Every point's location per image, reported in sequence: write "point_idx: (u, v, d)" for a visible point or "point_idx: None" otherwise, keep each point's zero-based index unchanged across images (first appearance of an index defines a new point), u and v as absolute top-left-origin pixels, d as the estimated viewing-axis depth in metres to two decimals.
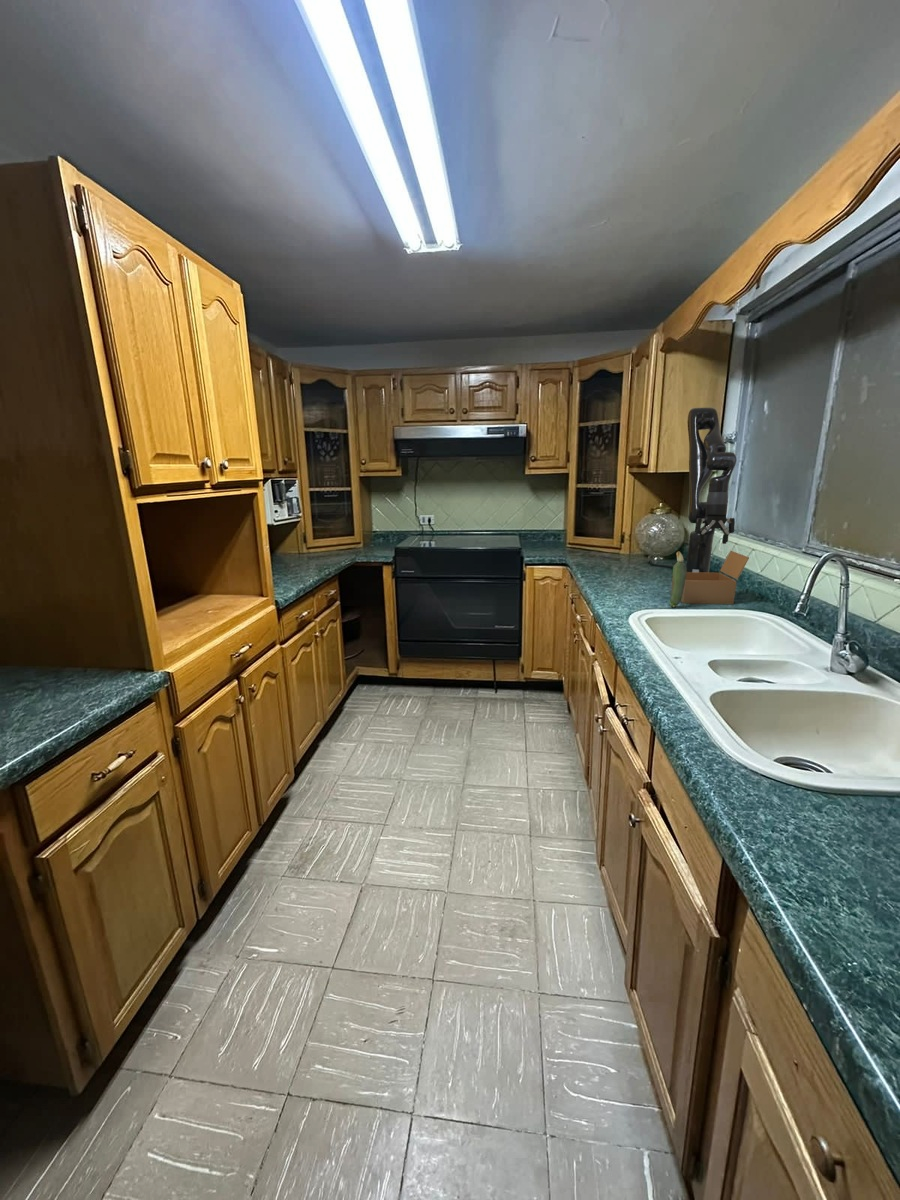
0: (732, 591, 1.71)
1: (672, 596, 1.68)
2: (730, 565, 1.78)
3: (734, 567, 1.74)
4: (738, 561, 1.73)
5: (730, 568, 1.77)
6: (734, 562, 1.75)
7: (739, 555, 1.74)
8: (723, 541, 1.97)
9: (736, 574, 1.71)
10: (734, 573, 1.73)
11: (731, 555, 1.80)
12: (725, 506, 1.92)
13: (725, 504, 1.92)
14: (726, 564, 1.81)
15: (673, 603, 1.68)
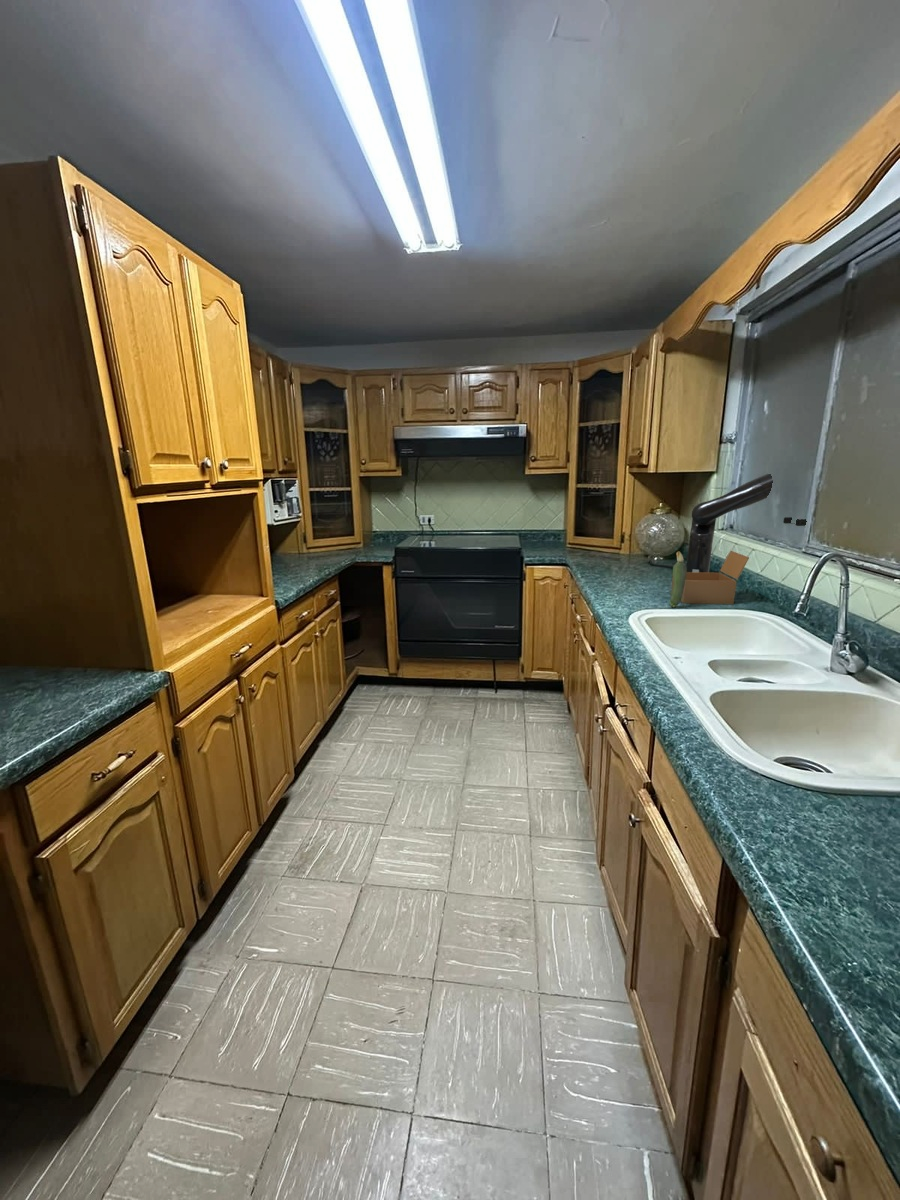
0: (732, 591, 1.71)
1: (672, 596, 1.68)
2: (730, 565, 1.78)
3: (734, 567, 1.74)
4: (738, 561, 1.73)
5: (730, 568, 1.77)
6: (734, 562, 1.75)
7: (739, 555, 1.74)
8: (787, 520, 1.76)
9: (736, 574, 1.71)
10: (734, 573, 1.73)
11: (731, 555, 1.80)
12: None
13: None
14: (726, 564, 1.81)
15: (673, 603, 1.68)
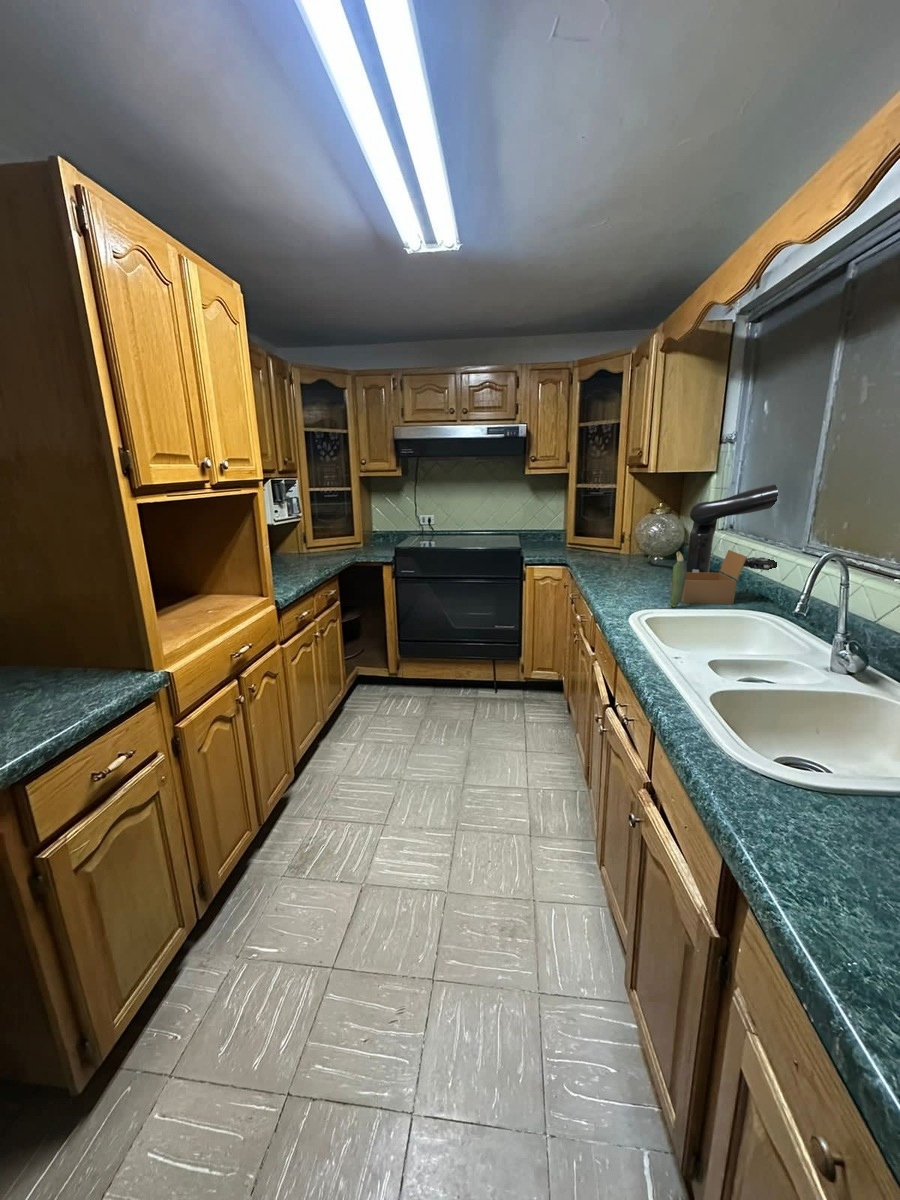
0: (732, 591, 1.71)
1: (672, 596, 1.68)
2: (729, 565, 1.78)
3: (733, 567, 1.74)
4: (736, 561, 1.73)
5: (729, 568, 1.77)
6: (733, 562, 1.76)
7: (737, 554, 1.74)
8: None
9: (736, 574, 1.71)
10: (734, 573, 1.73)
11: (729, 555, 1.80)
12: None
13: None
14: (725, 563, 1.81)
15: (673, 603, 1.68)
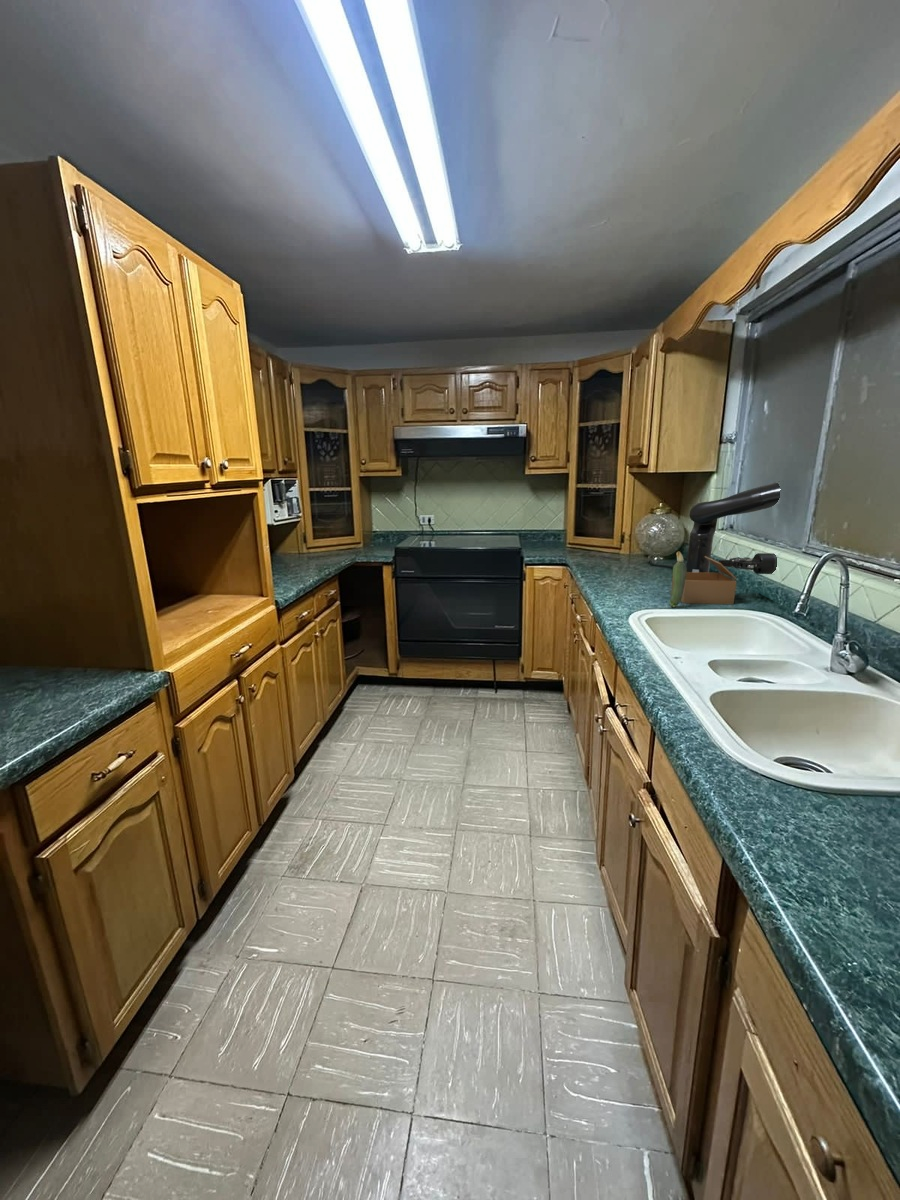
0: (732, 591, 1.71)
1: (672, 596, 1.68)
2: (719, 568, 1.78)
3: (723, 570, 1.75)
4: (719, 566, 1.74)
5: (722, 570, 1.77)
6: (718, 566, 1.77)
7: (713, 561, 1.76)
8: None
9: (732, 576, 1.71)
10: (729, 575, 1.73)
11: (709, 560, 1.81)
12: None
13: None
14: (716, 567, 1.81)
15: (673, 603, 1.68)
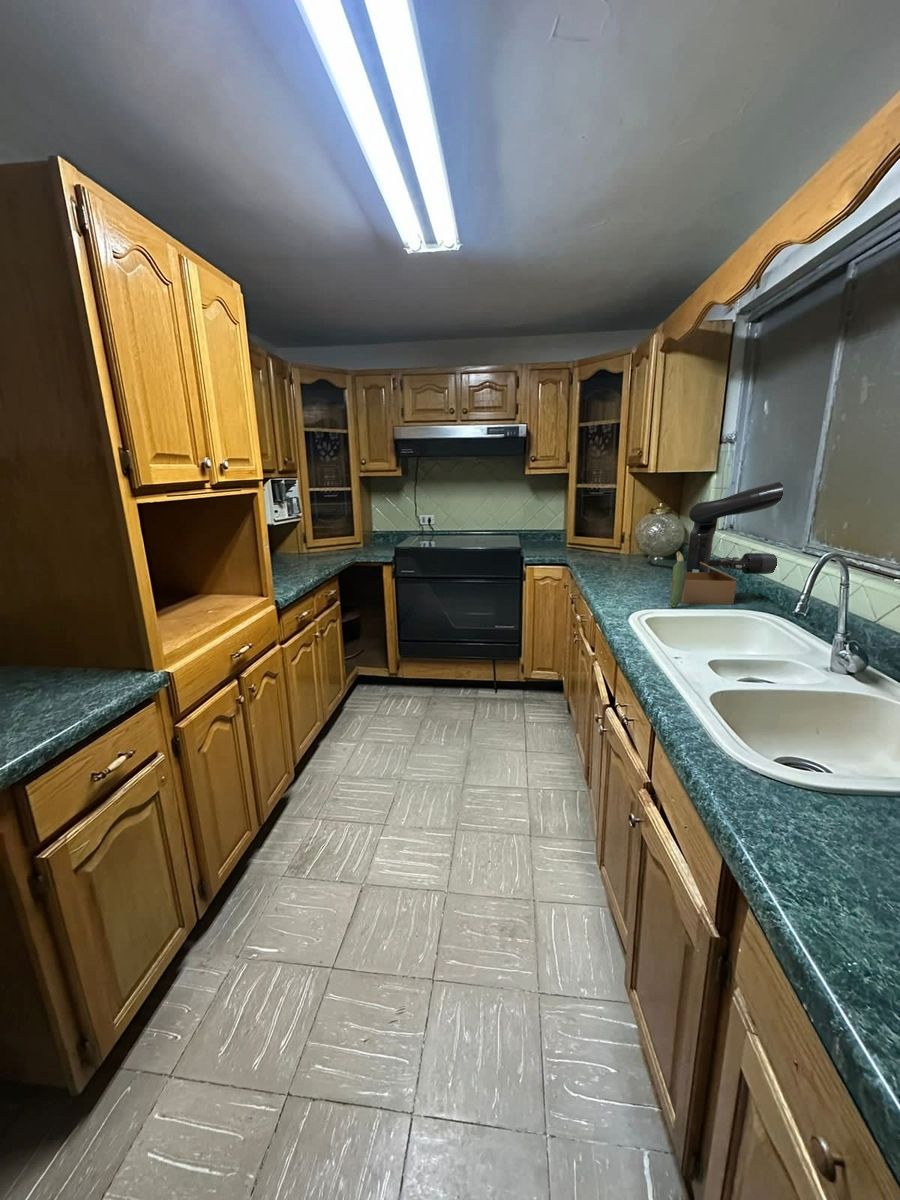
0: (732, 591, 1.71)
1: (672, 596, 1.68)
2: None
3: None
4: (715, 570, 1.75)
5: (721, 572, 1.78)
6: None
7: (709, 567, 1.76)
8: None
9: (731, 577, 1.71)
10: None
11: None
12: None
13: None
14: None
15: (673, 603, 1.68)
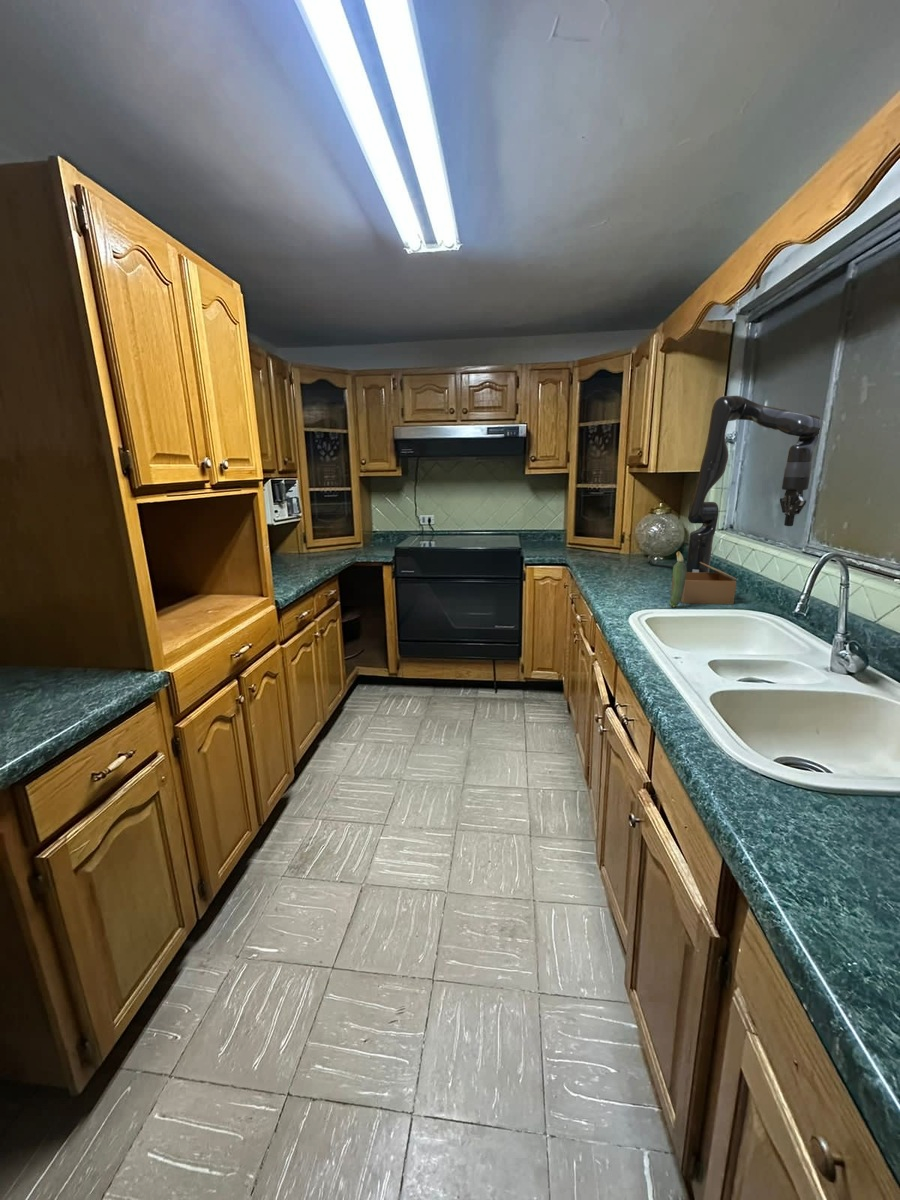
0: (732, 591, 1.71)
1: (672, 596, 1.68)
2: None
3: None
4: (715, 570, 1.75)
5: (721, 572, 1.78)
6: None
7: (709, 567, 1.76)
8: None
9: (731, 577, 1.71)
10: None
11: None
12: None
13: None
14: None
15: (673, 603, 1.68)
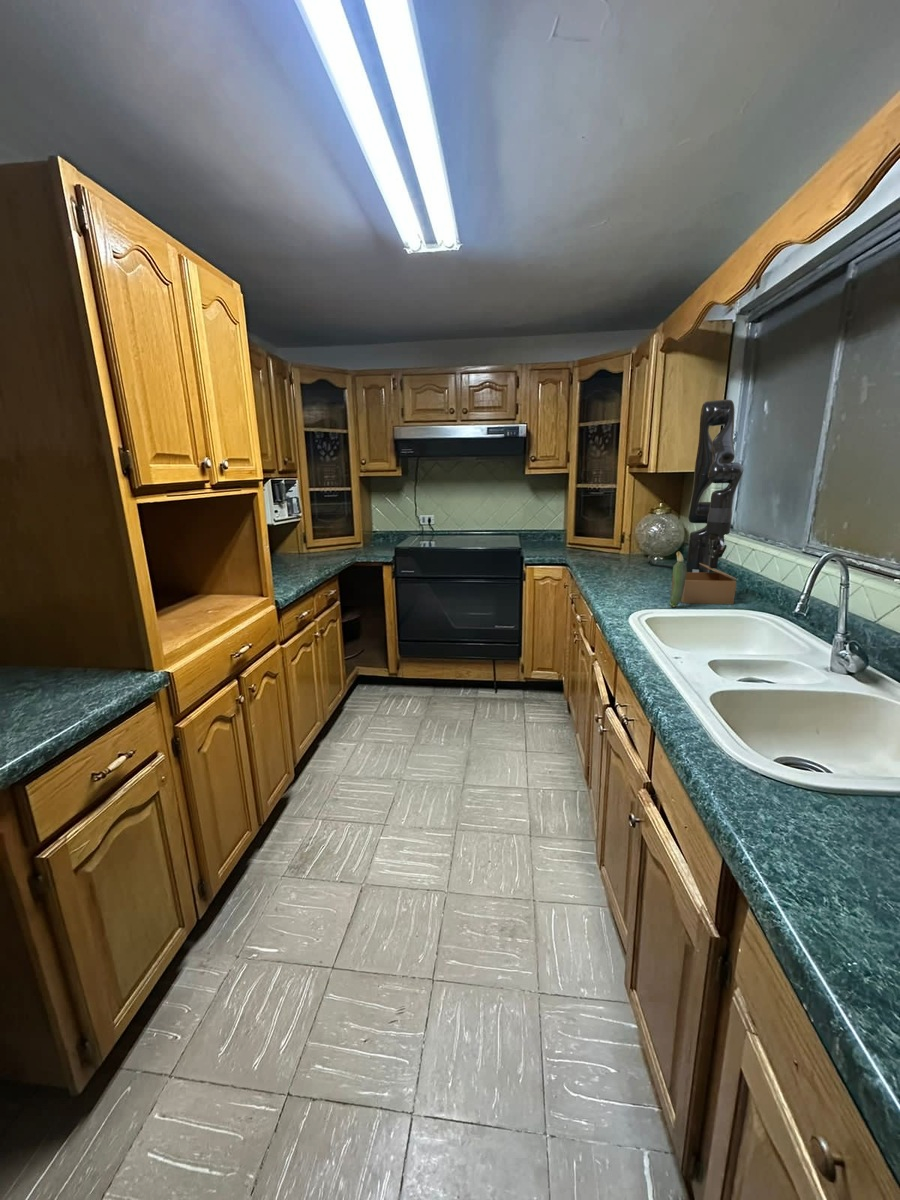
0: (732, 591, 1.71)
1: (672, 596, 1.68)
2: (717, 571, 1.79)
3: (721, 573, 1.75)
4: None
5: (721, 572, 1.78)
6: None
7: (708, 568, 1.76)
8: None
9: (731, 577, 1.71)
10: (728, 576, 1.73)
11: (705, 566, 1.82)
12: None
13: None
14: None
15: (673, 603, 1.68)
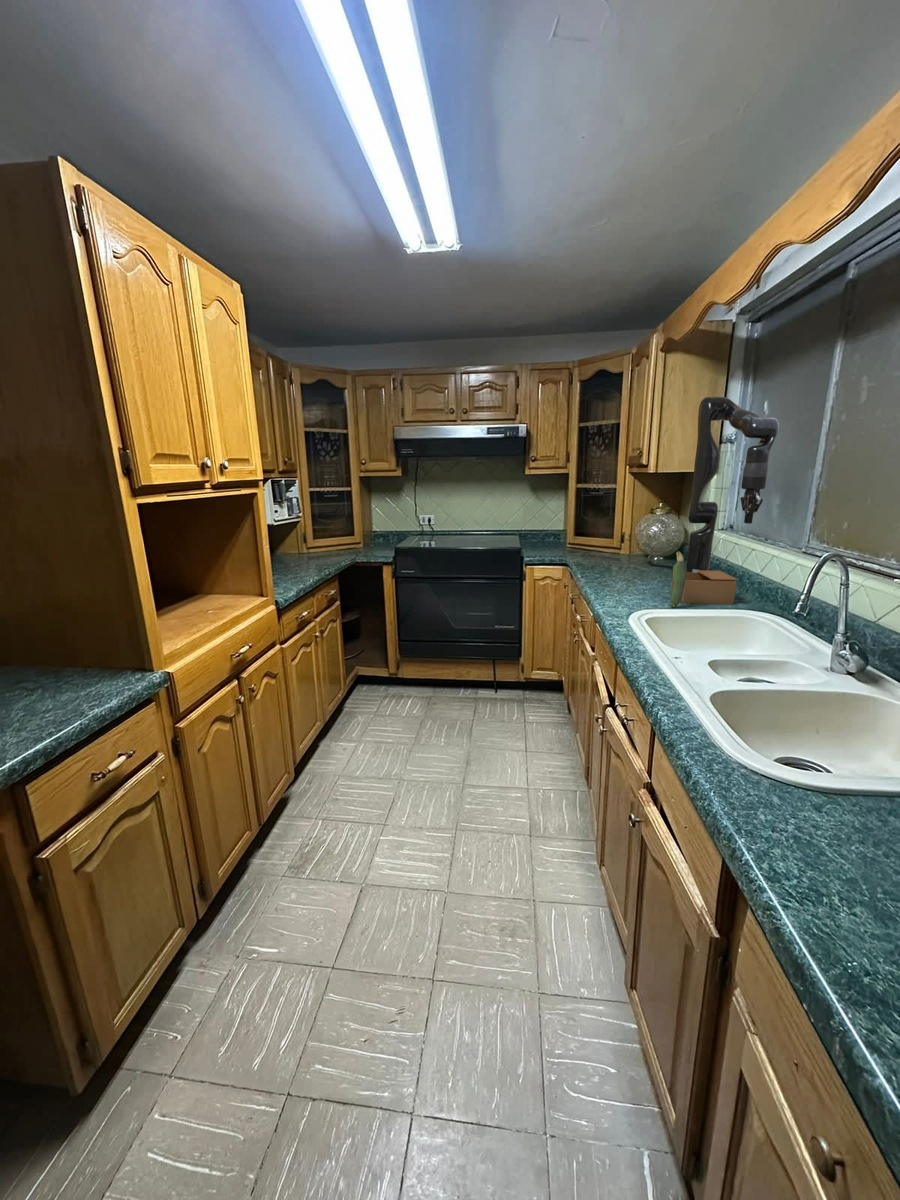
0: (732, 591, 1.71)
1: (672, 596, 1.68)
2: None
3: None
4: None
5: None
6: None
7: None
8: None
9: None
10: None
11: None
12: None
13: None
14: None
15: (673, 603, 1.68)
